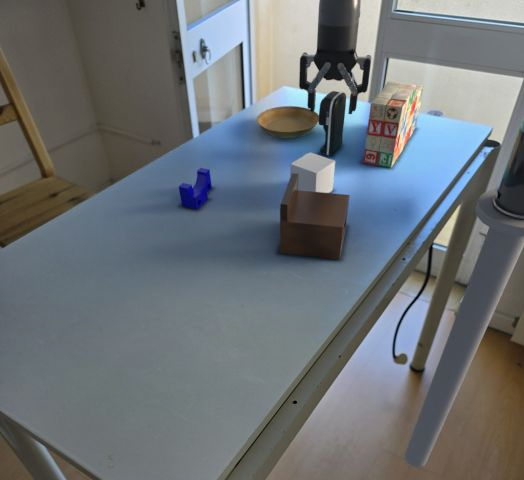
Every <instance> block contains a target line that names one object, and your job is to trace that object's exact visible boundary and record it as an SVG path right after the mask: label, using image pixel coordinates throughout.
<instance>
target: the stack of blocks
mask: <svg viewBox="0 0 524 480" xmlns="http://www.w3.org/2000/svg"><path fill="white" fill-rule="evenodd" d="M423 90H424V85H421V84H420V85H419V84H413V83H405V82H404V83H403V82H397V81H387V82H386V84H385V85H384V87H383V88H382V89H381V90H380V91H379V92H378V93H377V95H376V96H375V97H374V98H373V100H372V101H371V102H370V107H369V115H368V121H367V129H366V137H365V146H364V151H363V159H362V163H363V164H367V165H373V166H379V167H384V168H388V169H389V168H390V169H391V168H392V167H393V166H394V164H395V163H396V162H397V160H398V158H399V157H400V155H401V153H402V152H403V150H404V147H406V145H407V142H408V141H409V139H410V138H411V136H412V135H413V133H414V132H415V130H416V127H417V123H418V118H419V113H420V108H421V105H422V95H423Z"/></svg>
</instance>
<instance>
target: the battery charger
mask: <svg viewBox="0 0 524 480" xmlns="http://www.w3.org/2000/svg"><path fill="white" fill-rule="evenodd" d="M346 107H347V94H346V93H345V92H343V91H337V90H332V91H330V92H328V94H326V95H325V96H324V97H323V98H322V100H321V101H320V103H319V110H318V115H319V121H318V125H319V126H323V127H322V128H323V130H324V133H325V135H324V144H323V145H322V146H321V147H320V149H319V153H321V154H322V155H326V156H332V155H333V154H335V152H336V151H337V150H338V149H339V148H340V147H341V145H342V144H343V135H344V126H345V115H346Z"/></svg>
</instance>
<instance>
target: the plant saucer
mask: <svg viewBox="0 0 524 480" xmlns="http://www.w3.org/2000/svg"><path fill="white" fill-rule="evenodd" d="M318 121H319V113H318V112H316V111H315V110H314V112H310V109H308V107H303V106H296V105H284V106H276V107H271V108H269V109H266V110H264V111H262V112H260V113H259V114H258V115H257V117H256V122H257V124H258V125H259V127H260V128H261V129H262V130H263V131H264V132H265V133H267V134H268V135H269V136H271V137H274V138H279V139H296V138H300V137H303V136H305V135H307V134H308V133H310V132H311V131H312V130H313V129H314V128H315V127H316V126H317V124H319V122H318Z"/></svg>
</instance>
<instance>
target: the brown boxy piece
mask: <svg viewBox="0 0 524 480" xmlns="http://www.w3.org/2000/svg"><path fill="white" fill-rule="evenodd" d="M298 184H299V174H295V173H292V174H291V177H290V178H289V180H288V183H287V185H286V188H285V190H284V193H283V195H282V198H281V201H280V203H279V254H283V255H284V254H285V255H295V256H301V257H302V256H304V257H311V258H312V257H313V258H320V259H330V260H340V259H341V255H342V250H343V245H344V238H345V234H346V230H347V221H348V212H349V203H350V194H344V193H333V192H330V193H323V192H311V191H300V190H298Z"/></svg>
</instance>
